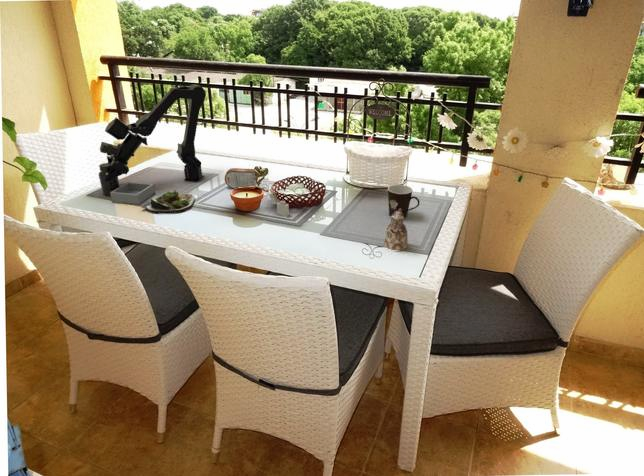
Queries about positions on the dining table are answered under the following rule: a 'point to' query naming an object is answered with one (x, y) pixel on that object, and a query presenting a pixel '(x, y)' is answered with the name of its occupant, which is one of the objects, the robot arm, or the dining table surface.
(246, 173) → the tin
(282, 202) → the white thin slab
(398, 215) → the figurine
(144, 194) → the square tray
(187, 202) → the salad plate
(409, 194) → the coffee mug
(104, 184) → the supplement bottle
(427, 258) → the dining table surface
